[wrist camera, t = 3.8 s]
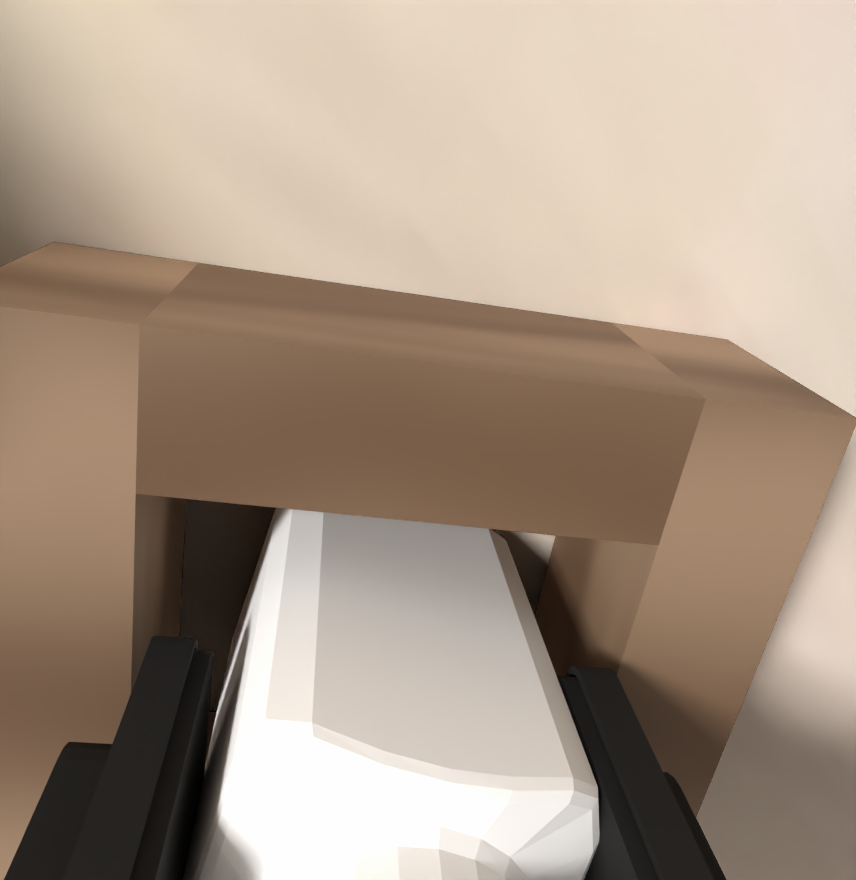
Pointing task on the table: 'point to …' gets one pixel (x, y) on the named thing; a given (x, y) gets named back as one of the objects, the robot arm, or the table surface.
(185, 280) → the shaker holder
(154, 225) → the table surface
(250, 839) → the salt shaker
